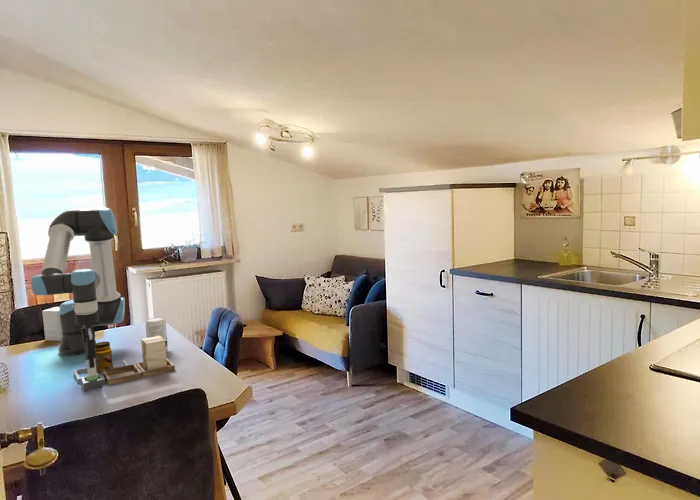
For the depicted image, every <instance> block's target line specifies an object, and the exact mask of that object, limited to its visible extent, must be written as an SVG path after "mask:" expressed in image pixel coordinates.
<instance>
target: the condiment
mask: <svg viewBox="0 0 700 500" xmlns="http://www.w3.org/2000/svg"><path fill="white" fill-rule="evenodd" d="M95 353H96V358H95V361H96V372H97V373H103V371H102V370H106V369H110V368H114V364H113V362H114V361H113V351H112V348H111V343H110V342H109V341H99V342H96V344H95Z"/></svg>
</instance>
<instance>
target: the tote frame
mask: <svg viewBox="0 0 700 500" xmlns="http://www.w3.org/2000/svg"><path fill="white" fill-rule="evenodd" d="M118 363H123V365H124V366H125V365H129V364H128V363H127V361H126V360H125V359H122V360H118V361H113V365H114V364H118ZM82 373H88V370H87V366H86V367H82V368H78V369H73V375H74V377H75V380H76V382H77V383H78V384H80V383H81V377H80V375H79V374H82ZM102 375H103V373H102Z"/></svg>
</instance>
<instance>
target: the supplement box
mask: <svg viewBox="0 0 700 500" xmlns="http://www.w3.org/2000/svg"><path fill="white" fill-rule="evenodd" d="M41 312H42V322H43V330H44V339H45V341H55V342H61V338H62V330H61V321H60V315H59V314H60V306H54V307H51V308H47V309H44V310H42V311H41Z"/></svg>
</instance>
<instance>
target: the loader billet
mask: <svg viewBox="0 0 700 500" xmlns="http://www.w3.org/2000/svg"><path fill="white" fill-rule="evenodd" d="M140 341H141V343H140V344H141V351H142V352H141V353H142V362H143V367H144V369H145V371H148V370H152V369H157V368H162V367H166V366H167V359H168V358H167V352H166V346H165V340H164V339H163V338H162V337H161V336H154V337H149V338H147V337H144V338H141V339H140ZM166 358H167V359H166Z"/></svg>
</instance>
